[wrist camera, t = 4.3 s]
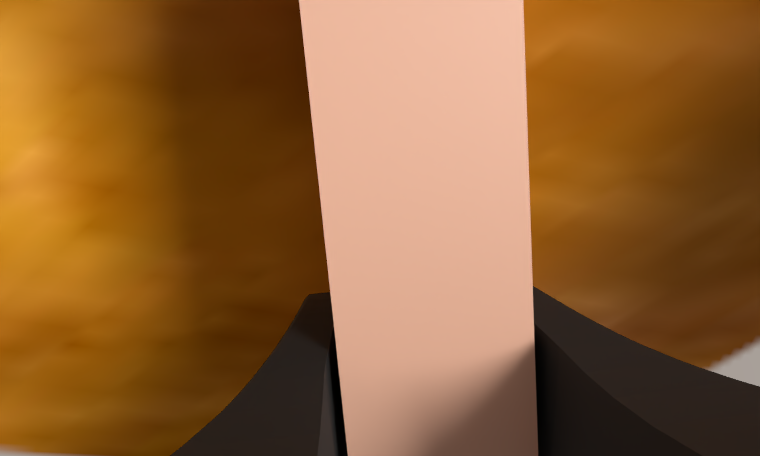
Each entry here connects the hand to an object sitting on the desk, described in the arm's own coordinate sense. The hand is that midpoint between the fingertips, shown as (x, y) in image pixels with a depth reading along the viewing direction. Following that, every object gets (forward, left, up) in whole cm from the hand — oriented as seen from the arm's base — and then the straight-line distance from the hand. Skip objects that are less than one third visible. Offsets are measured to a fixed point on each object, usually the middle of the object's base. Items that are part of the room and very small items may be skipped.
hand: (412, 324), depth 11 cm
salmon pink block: (0, -4, -4) cm, 5 cm away
